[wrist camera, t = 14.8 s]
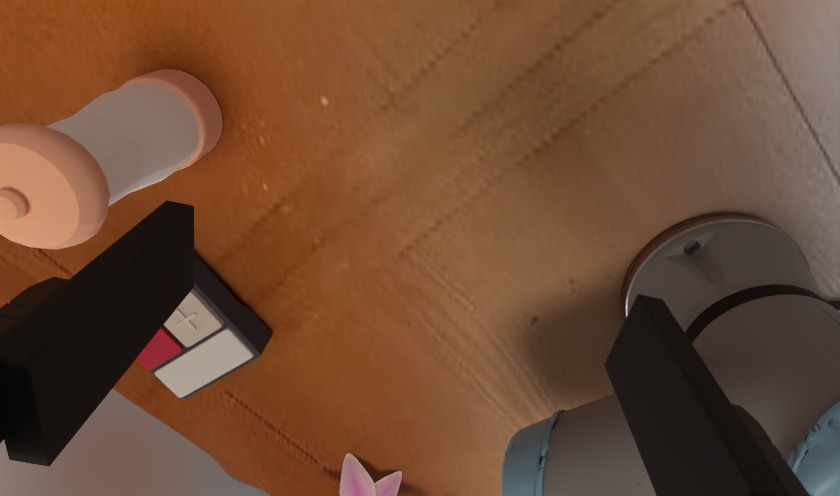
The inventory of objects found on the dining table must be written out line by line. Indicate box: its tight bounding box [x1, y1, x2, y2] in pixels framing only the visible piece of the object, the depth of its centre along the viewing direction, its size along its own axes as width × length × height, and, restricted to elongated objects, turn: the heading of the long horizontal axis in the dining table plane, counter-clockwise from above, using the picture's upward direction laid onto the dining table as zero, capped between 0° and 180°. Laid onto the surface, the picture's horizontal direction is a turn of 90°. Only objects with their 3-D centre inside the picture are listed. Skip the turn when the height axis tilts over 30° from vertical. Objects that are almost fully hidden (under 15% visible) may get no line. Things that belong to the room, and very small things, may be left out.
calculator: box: [136, 253, 272, 400], centre depth 50 cm, size 11×4×15 cm
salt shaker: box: [0, 69, 223, 249], centre depth 34 cm, size 7×7×19 cm
